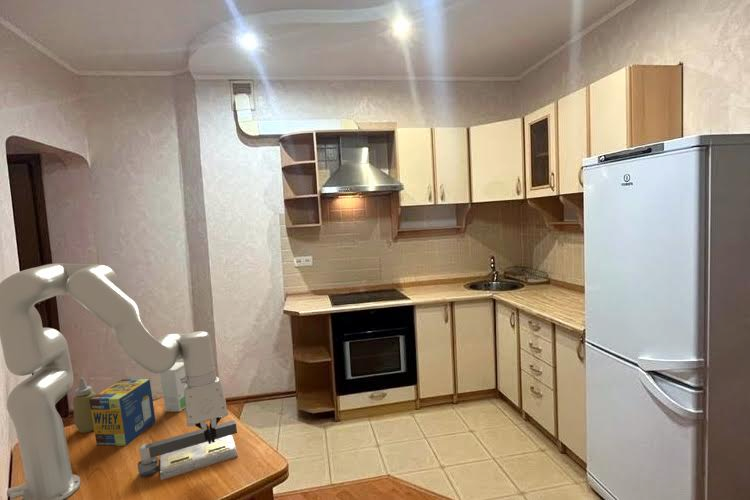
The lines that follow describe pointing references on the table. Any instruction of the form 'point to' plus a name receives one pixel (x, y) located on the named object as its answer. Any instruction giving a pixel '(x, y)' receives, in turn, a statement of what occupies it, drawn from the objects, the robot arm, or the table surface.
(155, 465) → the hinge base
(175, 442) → the lever
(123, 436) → the protein box
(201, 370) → the robot arm
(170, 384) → the skincare box
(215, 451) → the label panel
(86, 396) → the squeeze bottle
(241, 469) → the table surface
